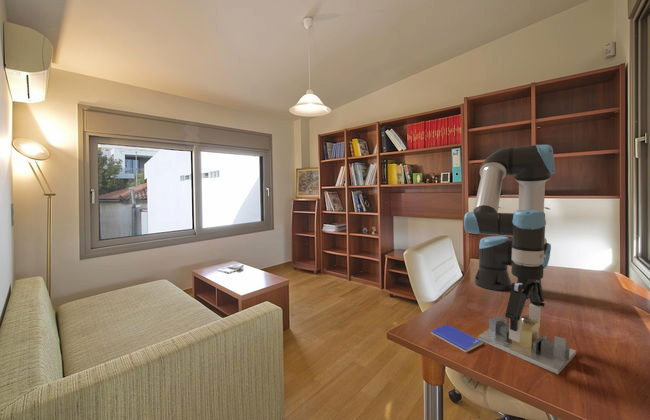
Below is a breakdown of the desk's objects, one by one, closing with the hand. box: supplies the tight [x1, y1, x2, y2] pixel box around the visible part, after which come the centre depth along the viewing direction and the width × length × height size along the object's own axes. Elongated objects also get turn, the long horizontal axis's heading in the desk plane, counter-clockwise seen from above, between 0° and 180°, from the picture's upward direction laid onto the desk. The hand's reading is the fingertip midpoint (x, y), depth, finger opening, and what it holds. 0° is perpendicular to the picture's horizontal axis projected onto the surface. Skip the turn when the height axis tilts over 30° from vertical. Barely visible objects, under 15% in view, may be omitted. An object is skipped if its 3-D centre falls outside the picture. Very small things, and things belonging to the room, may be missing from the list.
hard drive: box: [430, 324, 483, 353], centre depth 88 cm, size 2×8×12 cm
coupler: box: [512, 315, 540, 350], centre depth 82 cm, size 5×5×8 cm
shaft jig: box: [477, 315, 577, 375], centre depth 82 cm, size 20×14×5 cm
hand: (524, 332), depth 82 cm, fingers open, 13 cm apart
